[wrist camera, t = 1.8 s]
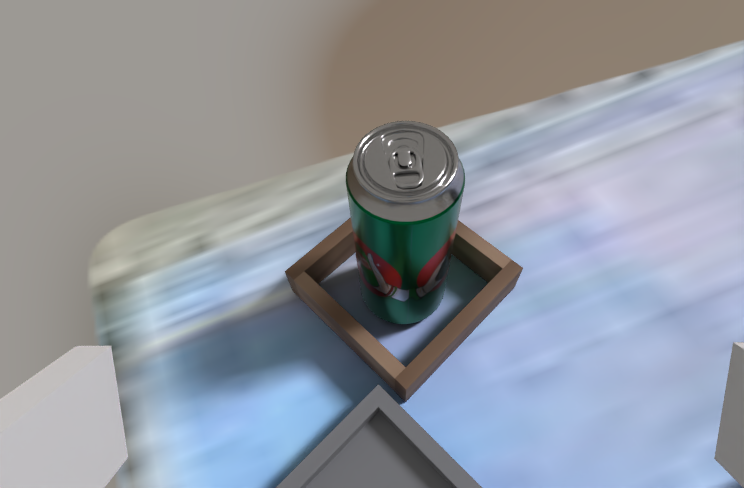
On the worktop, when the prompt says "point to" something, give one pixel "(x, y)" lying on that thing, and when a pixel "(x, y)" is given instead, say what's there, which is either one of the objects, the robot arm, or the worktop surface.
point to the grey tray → (378, 453)
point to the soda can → (404, 217)
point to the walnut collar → (373, 353)
